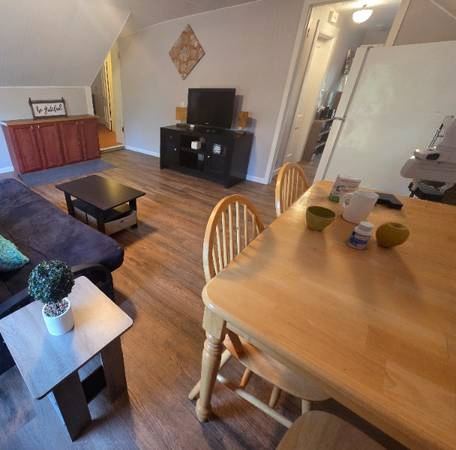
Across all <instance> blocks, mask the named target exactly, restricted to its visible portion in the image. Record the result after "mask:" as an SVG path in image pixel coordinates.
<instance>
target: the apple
mask: <svg viewBox="0 0 456 450" xmlns="http://www.w3.org/2000/svg"><path fill="white" fill-rule="evenodd" d="M410 234H411V233H410V230H409V228H408V227H407V226H406V225H404V224H402V223H400V222H396V221H386V222H384V223H382V224H380V225H379V226H378V227H377V229H376V231H375V240H376V242H377V243H378V245H379V246H381V247H384V248H395V247H397V246H400V245H403V244H404V243H405V242H407V240H408V239H409V237H410Z"/></svg>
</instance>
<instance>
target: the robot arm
mask: <svg viewBox="0 0 456 450" xmlns="http://www.w3.org/2000/svg"><path fill="white" fill-rule="evenodd" d="M412 155H413V156H411V157H409V158H408V159H407V160H406V162H405V163H404V164H403V166H402V168H401V169H400V171H399V174H400V176H401V177H402V178H405V179H410V180H411V179H412V181H411V182H413V186H412V188H411V189H412V190H415V191H418V190H419V189H420V186H419V185H418V183H421V181H429V182H430V181H431V182H439V183H440V182H441V183H444V185H442V186H441V187H437V188H436V190H438V191H439V192H440V193H442V194H443V195H444V193H445V191H447V190H448V189H450V188H453V187H454V185H455V184H456V115H455V116H453V118H452V119H451V121H450V122H449V124H448V126H447V127H446V129H445V131H444V135H443V137H442V138H441V139H440V140H439V141H438V142H437V144H436V146H431V147H424V148H417V149H415V150H414V151H413V153H412Z"/></svg>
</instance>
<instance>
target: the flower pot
mask: <svg viewBox="0 0 456 450" xmlns="http://www.w3.org/2000/svg"><path fill="white" fill-rule="evenodd" d="M306 207H307V208H306V210H305V211H306V212H305V219H306V220H305V221H306V225H307V227H308V228H309V229H311V230H313V231H322V230H324V229H325V228H327V227H329V226H330V225H331V224H332V223H333V222H334V220H335V219H336V218H337V216H338V215H337V213H336V212H335V211H334V210H333V209H330V208H328V207H325V206H320V205H309V206H306Z"/></svg>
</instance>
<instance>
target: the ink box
mask: <svg viewBox="0 0 456 450" xmlns="http://www.w3.org/2000/svg"><path fill="white" fill-rule="evenodd" d="M361 182H362V179H361V178H360V177H359V176H356V175H355V176H354V175H347V174H340V173H339V174H338V175H337V176H336V178H335V181H334V183H333V185H332V188H331V191H330V193H329V194H328V198H329V201H333V202H339V200H340V198H341V197H342V196H343V195H345V194H347V193H354V191H355V190H358V188H359V187H360V184H361ZM350 199H351V197H349V198H347V199H346V200H345V204H349V202H350Z"/></svg>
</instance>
